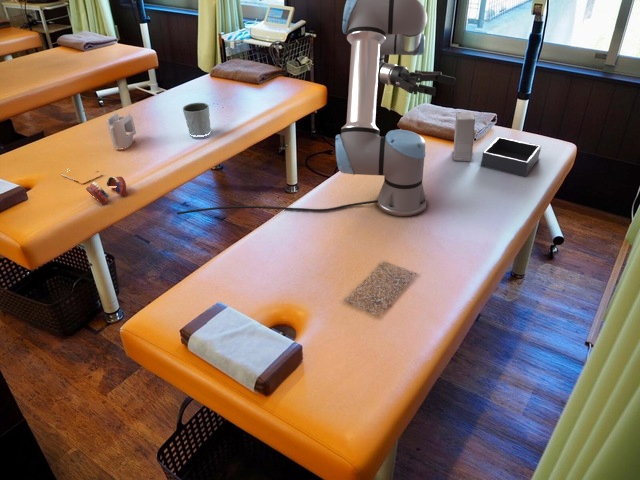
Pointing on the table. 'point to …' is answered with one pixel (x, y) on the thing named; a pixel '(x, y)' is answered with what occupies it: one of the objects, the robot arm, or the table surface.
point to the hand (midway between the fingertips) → (445, 86)
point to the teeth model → (113, 181)
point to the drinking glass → (197, 119)
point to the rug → (381, 288)
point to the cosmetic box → (464, 136)
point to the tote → (511, 156)
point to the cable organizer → (121, 130)
